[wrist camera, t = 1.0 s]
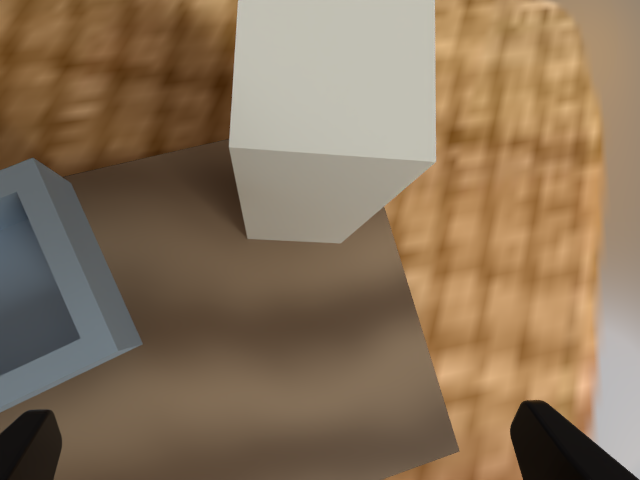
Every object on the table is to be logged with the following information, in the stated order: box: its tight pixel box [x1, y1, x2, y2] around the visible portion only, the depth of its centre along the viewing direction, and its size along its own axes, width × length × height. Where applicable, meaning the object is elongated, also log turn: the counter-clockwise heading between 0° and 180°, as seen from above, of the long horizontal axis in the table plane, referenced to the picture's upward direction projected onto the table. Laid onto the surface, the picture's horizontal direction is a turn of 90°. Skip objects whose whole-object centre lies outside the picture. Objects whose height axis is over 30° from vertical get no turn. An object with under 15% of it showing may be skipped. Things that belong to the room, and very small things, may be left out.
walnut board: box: [0, 139, 459, 480], centre depth 21 cm, size 17×22×1 cm
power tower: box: [229, 0, 436, 243], centre depth 16 cm, size 5×4×12 cm
